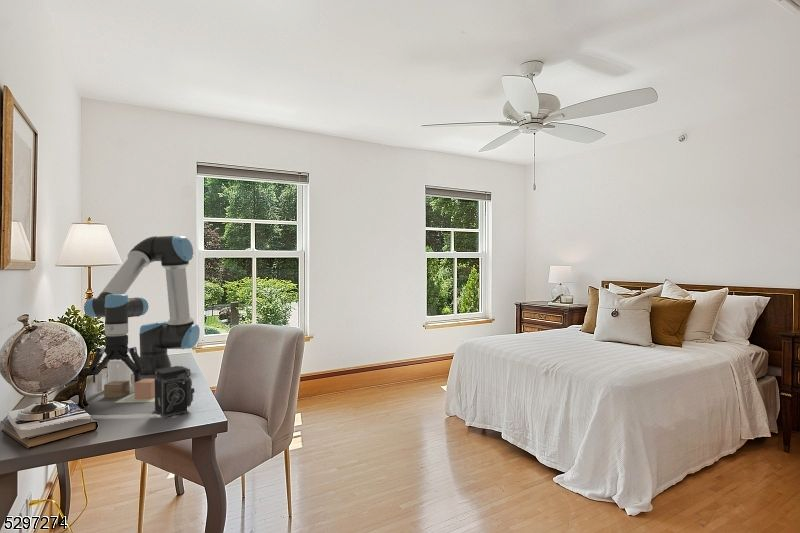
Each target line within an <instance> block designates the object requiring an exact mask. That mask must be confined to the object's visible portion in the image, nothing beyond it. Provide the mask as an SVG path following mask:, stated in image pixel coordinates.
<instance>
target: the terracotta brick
mask: <svg viewBox="0 0 800 533" xmlns="http://www.w3.org/2000/svg"><path fill="white" fill-rule="evenodd" d="M134 393H135V399H152V398H154V397H155V378H142V379H140V381H137V382H135V391H134Z"/></svg>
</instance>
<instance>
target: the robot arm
mask: <svg viewBox="0 0 800 533" xmlns="http://www.w3.org/2000/svg"><path fill="white" fill-rule="evenodd" d="M193 255H194V248H193V245H192V243H191V241H190V240H189V238H187V237H186V236H183V235H168V236H167V235H163V236H161V235H160V236H157V235H155V236H150V237H146V238H145V239H144V240H141V241H140V242H139V243H137V244H136V245H135V246H134V247H133V248H132V249H131V250H130V251H129V252H128V254H127V258H126V260H125V261H124V263H123V264H122V265H121V266H120V268H118V270H117V271H116V273H115V274H114V275H113V277H112V278H111V279H110V280H109V282H108V283H107V285H105V287H104V288H103V290H102V291H101V292H100V293H99V295H98V296H97V297H92V298H89V299H87V300H86V301H85V302H84V305H83V311H84V313H85V315H86V316H87V317H89V318H104V335H105V337H104V346H105V347H98V348H96V350H95V356H94V357H93V360H92V361H91V364H90V365H89V367H88V368H87V374H91V375H92V383H94V392H95V393H99V392H102V390H103V376H102V373H101V371H102V370H103V369H104V368H105V366H107V365H108V362H109V361H110V360H120V359H121V360H122V361H124V362H125V364H126V365H127V366H128V367H129V368H130V369H131V372H132V374H131V393H135V382H137V381H140V380H141V375H154V374H155V370H158V369H164V368H169V367H172V362H171V361H170V360H171V359H170V357H169V354H168V350H187V349H189V350H190V349H193V348H194V347H195V346H196V345H197V343H198V342H199V338H200V333H201V331H200V330H201V329H200V327H199V325H198V324H197V323H194V322H195V321H194V318H192V317H191V315H190V314H191V313H190V304H189V292H188V281H187V280H188V279H187V267H188V265H190V261H191V260H192V259H193V257H194V256H193ZM153 262H161V264H160V265H161V267H162V268H163V269H165V278H166V290H167V302H168V310H169V311H168V312H169V319H168V321H159V322H158V321H157V322H151V323H146V324H142V325H141V326H140V327H139V333H138V334H139V354H138V350H137V347H136V346H133V347H129V345H128V344H129V335H128V333H129V318H134V317H136V318H137V317H141V316H144V315H145V314H146V313H147V312H148V310H149V303H148V301H147V300H146V299H145V298H143V297H129V295H128V294H127V291H128V290H129V289H130V288H131V286H132V285H133V283H134V282H135V281H136V279H138V277H139V275H140V274H141V272H142V271H143V270H144V269H145V268H147V267H148V266H149V265H150V264H151V263H153ZM104 353H105V356H104V357H103V355H104ZM129 354H130V355H129ZM102 357H103V358H102ZM101 359H102V360H101ZM100 361H101V362H100Z"/></svg>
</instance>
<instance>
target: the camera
mask: <svg viewBox="0 0 800 533" xmlns="http://www.w3.org/2000/svg"><path fill="white" fill-rule="evenodd" d="M154 374H155V375H156V376H155V377H154V379H155V402H154V410H155V412H157V413H158V414H159V415H161V416H162V417H163V418H167V417H170V416H171V417H172V416H176V415H180V414H186V413H188V407H190V406H191V405H192V402H193V400H194V393H195V388H194V387H193V388H192V386H193V380H192V377H190V376H191V369H190V368H188V367H186V366H183V365H180V366H179V365H175V366H171V367H169V368H164V369H158V370H155V373H154Z"/></svg>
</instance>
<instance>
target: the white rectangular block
mask: <svg viewBox="0 0 800 533" xmlns="http://www.w3.org/2000/svg"><path fill="white" fill-rule="evenodd" d="M131 372H132V370H131V369H130V368H129V367H128V366H127V365H126V364H125V362H124V361H122V360H121V359H120V360H110V361H109V362H108V363H107V383H110V382H112V381H130V385H132V374H131Z"/></svg>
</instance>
